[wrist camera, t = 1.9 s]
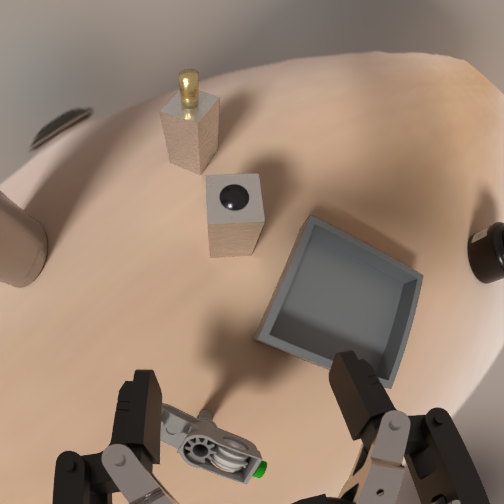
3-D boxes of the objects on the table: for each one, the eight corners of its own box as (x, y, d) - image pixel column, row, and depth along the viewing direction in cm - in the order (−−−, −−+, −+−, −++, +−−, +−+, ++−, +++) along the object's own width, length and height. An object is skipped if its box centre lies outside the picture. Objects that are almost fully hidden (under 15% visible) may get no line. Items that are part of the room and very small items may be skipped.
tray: (253, 338, 29) (257, 339, 25) (302, 224, 33) (311, 212, 30) (375, 385, 28) (390, 389, 25) (407, 279, 33) (423, 273, 30)
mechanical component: (167, 383, 26) (143, 404, 17) (255, 424, 26) (273, 460, 16) (156, 405, 25) (129, 434, 16) (243, 445, 25) (255, 488, 15)
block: (210, 258, 31) (207, 223, 22) (208, 220, 32) (205, 174, 23) (251, 255, 31) (265, 221, 22) (247, 218, 33) (258, 173, 23)
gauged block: (170, 162, 34) (154, 82, 21) (188, 138, 35) (181, 58, 22) (200, 175, 34) (196, 93, 21) (217, 149, 35) (221, 68, 22)
